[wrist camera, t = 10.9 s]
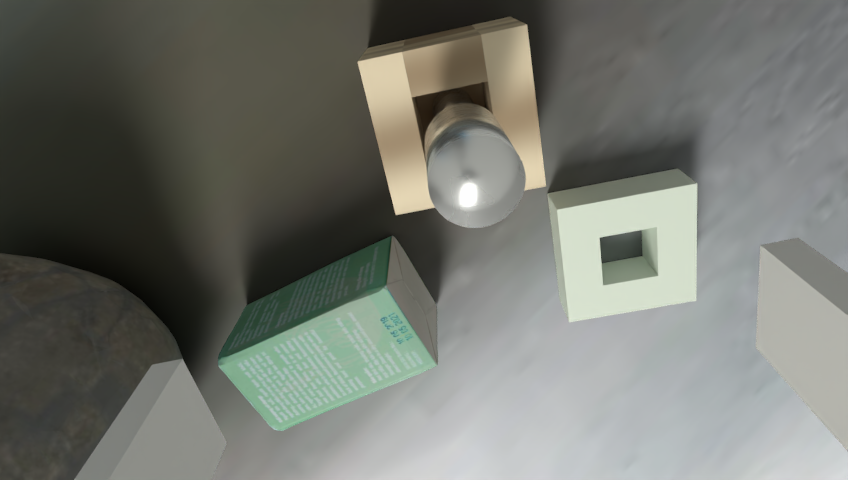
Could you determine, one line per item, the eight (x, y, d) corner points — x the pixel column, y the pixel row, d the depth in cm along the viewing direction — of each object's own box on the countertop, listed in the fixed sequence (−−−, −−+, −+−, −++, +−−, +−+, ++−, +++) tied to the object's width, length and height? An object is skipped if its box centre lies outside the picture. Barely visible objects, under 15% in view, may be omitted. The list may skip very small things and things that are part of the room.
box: (240, 305, 43) (208, 367, 36) (392, 230, 40) (387, 282, 33) (294, 371, 46) (273, 440, 39) (438, 305, 43) (442, 366, 36)
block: (367, 47, 34) (357, 61, 29) (510, 16, 34) (527, 24, 28) (399, 181, 38) (395, 215, 33) (528, 155, 38) (545, 186, 32)
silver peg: (415, 83, 34) (418, 146, 22) (478, 69, 34) (518, 125, 22) (428, 144, 36) (438, 236, 24) (488, 131, 36) (531, 217, 23)
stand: (547, 193, 39) (556, 209, 36) (677, 168, 38) (697, 183, 35) (559, 300, 43) (569, 322, 40) (678, 279, 42) (696, 300, 39)
